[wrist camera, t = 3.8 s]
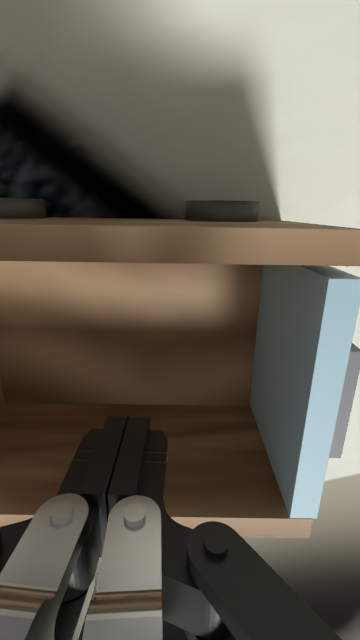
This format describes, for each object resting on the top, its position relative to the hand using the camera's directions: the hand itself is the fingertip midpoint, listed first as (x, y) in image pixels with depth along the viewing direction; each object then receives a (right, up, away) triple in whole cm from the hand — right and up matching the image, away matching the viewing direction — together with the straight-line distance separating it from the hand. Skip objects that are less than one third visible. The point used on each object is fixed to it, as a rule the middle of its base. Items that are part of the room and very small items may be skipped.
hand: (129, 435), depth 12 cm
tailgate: (+8, +3, +9) cm, 13 cm away
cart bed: (-2, +4, +11) cm, 11 cm away
